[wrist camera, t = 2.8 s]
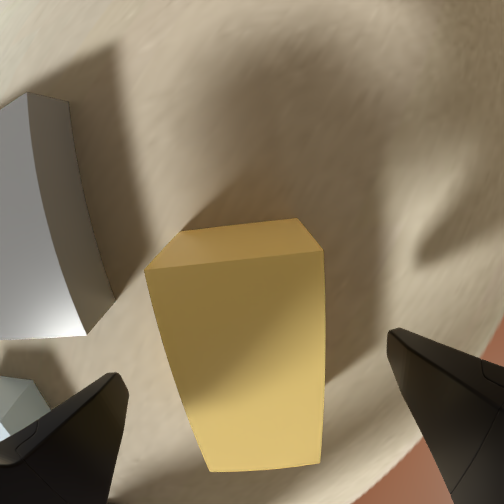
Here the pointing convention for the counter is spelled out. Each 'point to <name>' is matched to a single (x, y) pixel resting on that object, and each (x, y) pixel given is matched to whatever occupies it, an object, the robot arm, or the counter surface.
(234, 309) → the ochre brick
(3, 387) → the blue brick
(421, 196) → the counter surface
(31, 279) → the base slab
